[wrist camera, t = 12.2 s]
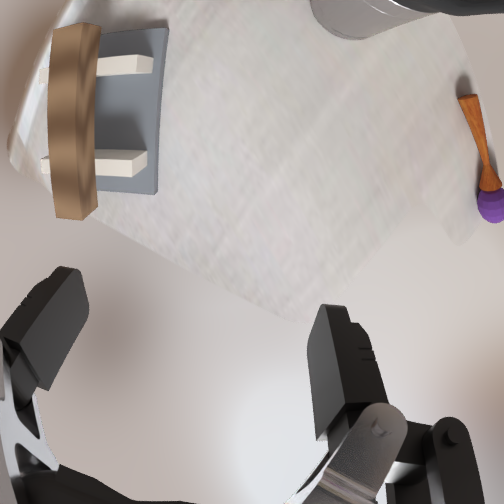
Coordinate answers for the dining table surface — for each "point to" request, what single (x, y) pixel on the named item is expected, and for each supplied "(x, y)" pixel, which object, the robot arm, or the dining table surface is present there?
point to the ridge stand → (126, 110)
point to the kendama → (484, 163)
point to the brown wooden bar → (73, 119)
